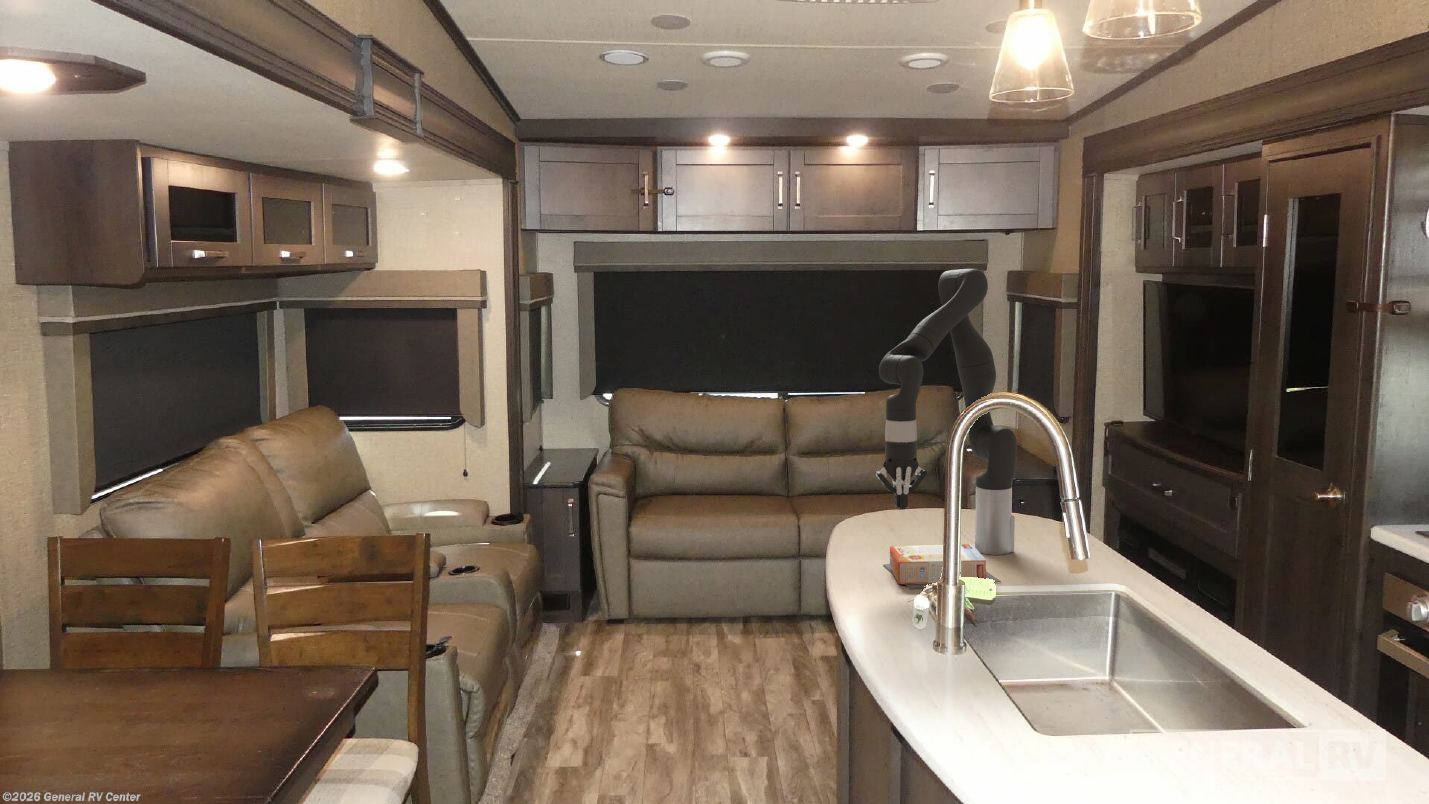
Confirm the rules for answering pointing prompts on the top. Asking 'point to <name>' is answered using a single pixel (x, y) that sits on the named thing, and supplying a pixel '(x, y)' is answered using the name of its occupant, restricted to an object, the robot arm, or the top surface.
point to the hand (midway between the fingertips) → (901, 508)
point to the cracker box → (932, 563)
